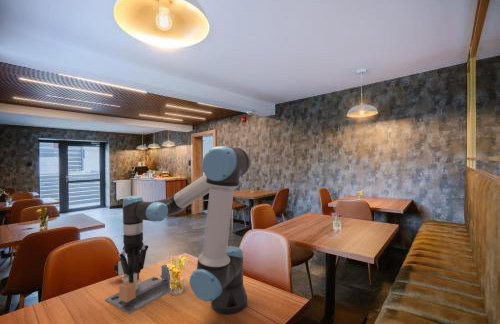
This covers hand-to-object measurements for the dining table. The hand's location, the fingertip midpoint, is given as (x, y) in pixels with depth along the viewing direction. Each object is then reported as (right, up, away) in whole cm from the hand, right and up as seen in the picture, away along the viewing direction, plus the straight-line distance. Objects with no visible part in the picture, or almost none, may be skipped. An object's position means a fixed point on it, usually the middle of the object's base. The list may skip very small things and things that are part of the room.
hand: (134, 288), depth 104 cm
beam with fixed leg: (+3, -5, +6) cm, 8 cm away
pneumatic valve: (-11, -6, +18) cm, 22 cm away
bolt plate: (+1, -6, +7) cm, 9 cm away
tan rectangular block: (-2, -5, -2) cm, 6 cm away
